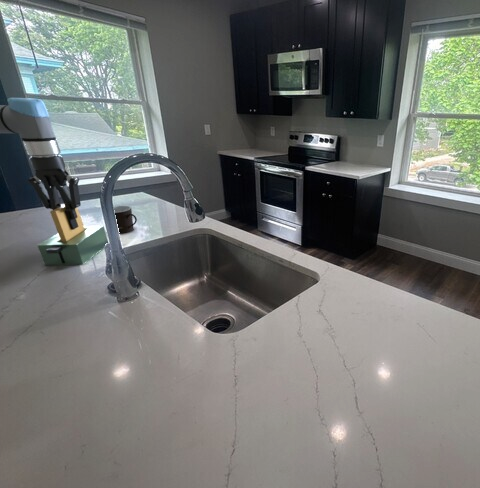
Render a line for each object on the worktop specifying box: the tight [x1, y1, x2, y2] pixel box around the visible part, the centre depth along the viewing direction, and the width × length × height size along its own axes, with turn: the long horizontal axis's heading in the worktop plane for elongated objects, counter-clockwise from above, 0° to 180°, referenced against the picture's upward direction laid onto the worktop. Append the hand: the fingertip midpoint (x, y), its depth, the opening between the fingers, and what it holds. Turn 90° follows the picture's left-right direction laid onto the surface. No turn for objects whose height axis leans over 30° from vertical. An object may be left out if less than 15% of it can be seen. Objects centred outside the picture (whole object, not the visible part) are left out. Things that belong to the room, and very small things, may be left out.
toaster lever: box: [46, 247, 63, 254], centre depth 92 cm, size 3×2×1 cm
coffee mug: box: [113, 205, 138, 235], centre depth 120 cm, size 12×9×10 cm
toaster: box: [37, 225, 109, 266], centre depth 102 cm, size 11×16×8 cm
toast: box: [49, 204, 85, 242], centre depth 98 cm, size 2×10×11 cm, turn 8°
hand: (71, 228), depth 99 cm, fingers closed on toast, 2 cm apart
